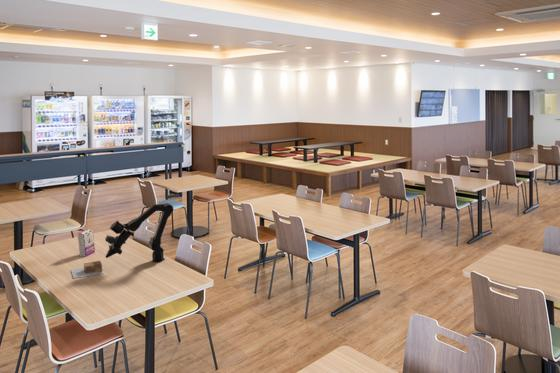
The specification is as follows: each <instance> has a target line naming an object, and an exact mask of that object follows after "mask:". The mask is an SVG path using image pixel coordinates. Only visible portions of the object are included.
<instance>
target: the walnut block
mask: <svg viewBox="0 0 560 373" xmlns="http://www.w3.org/2000/svg"><path fill="white" fill-rule="evenodd" d="M83 268H84V271H85V274H86V273H92V272H98V271H100V272H103V264H102V261H101V260H96V261H90V262H83Z"/></svg>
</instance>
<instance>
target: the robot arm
mask: <svg viewBox="0 0 560 373" xmlns="http://www.w3.org/2000/svg"><path fill="white" fill-rule="evenodd" d="M173 211H174V206H173V205H172V204H171V203H168V202H167V203H166V202H165V203H153V204H151V206H150V207H148V208H147V209H146V210H145V211H143V212H142V213H141V214H140V215H138V217H135V218H133V219H132V220H130V221H128V222H127V223H124V224H122V223H121V222H120V221H118V220H115V221H114V222H113V223H112V224H110V226H109V230H111V231H113V233H114V234H116V235H117V236H112V235H108V234H107V235H106V236H105V238H104V240H105V242H106V243H108V250H107V253H106V255H105V258H106V259H108V258H111V257H112V256H114V255H116V254H118V255H121V254H123V250H122V247H123V245H125V244H126V241H128V239H129V238H130V237H135V234H134V232H136V231H137V230H138V229H139V228H140V227H141V225H142V224H143V222H145V221H146V220H147V219H148V218H149V217H151V215H153V214H155V212H161V216H160V219H159V222H158V226H157V228H156V230H155V234H154V236H153V237H150V238H149V239H150V240H149V241H148V246H149V248H150V249H151V250H152V254H151V256H152V260H151V262H155V263H162V261H165V260H166V258H164V257H165V256H164V248H163V247H162V246H161V245H162V242H161V241H162V236H163V233H164V231H165V228H166V225H167V223H168V222H167V221H168V219H169V218H170V217H171V215H172V214H173Z"/></svg>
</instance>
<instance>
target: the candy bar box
mask: <svg viewBox="0 0 560 373" xmlns="http://www.w3.org/2000/svg"><path fill="white" fill-rule="evenodd" d="M77 239H78V242H77V243H78V249H79V250H78V251H79V257H82V258H84V257H85V258H86V257H88V256H90V255H92V254H93V253H95V252H96V251H95V250H96V249H95V239H94V231H93V229H85V230H83V231H81V232H79V233H77Z"/></svg>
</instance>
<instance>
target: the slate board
mask: <svg viewBox="0 0 560 373" xmlns="http://www.w3.org/2000/svg"><path fill="white" fill-rule="evenodd" d="M70 271H71V274H72V278H73V279H79V278H86V277H91V276H98V275H102V271H98V272H92V273H86V274H85V271H84V267H82V268H75V269H70Z"/></svg>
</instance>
